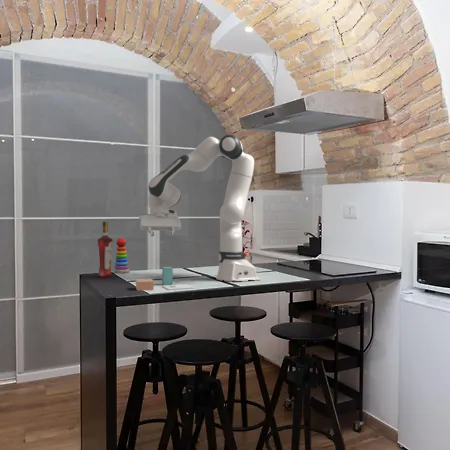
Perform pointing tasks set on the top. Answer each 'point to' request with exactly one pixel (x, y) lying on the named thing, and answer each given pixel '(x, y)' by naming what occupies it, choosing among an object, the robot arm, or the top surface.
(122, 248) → the stacking toy
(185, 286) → the plate
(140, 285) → the base brick
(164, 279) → the teal brick
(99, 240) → the liquor
